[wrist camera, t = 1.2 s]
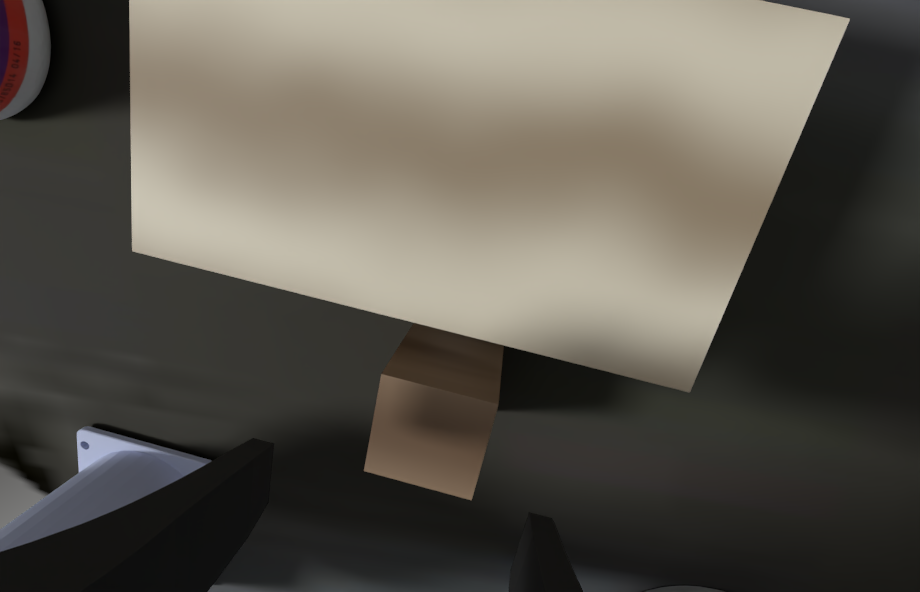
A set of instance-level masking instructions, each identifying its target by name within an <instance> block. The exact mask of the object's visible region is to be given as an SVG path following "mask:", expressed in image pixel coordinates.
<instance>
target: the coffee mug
mask: <svg viewBox="0 0 920 592" xmlns="http://www.w3.org/2000/svg"><path fill="white" fill-rule="evenodd" d="M644 592H725V591H721V590H717V589H711V588H706V587H701V586H668V587H661V588H656V589H652V590H648V591H644Z"/></svg>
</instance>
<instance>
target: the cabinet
mask: <svg viewBox="0 0 920 592" xmlns="http://www.w3.org/2000/svg"><path fill="white" fill-rule="evenodd" d="M849 21H850V19H849V18H844V17H839V16H835V15H830V14H825V13H820V12H815V11H810V10H805V9H800V8H795V7H790V6H786V5H781V4H776V3H771V2H766V1H761V0H129V23H130V110H131V197H132V251H133V252H137V253H141V254H145V255H149V256H153V257H157V258H161V259H165V260H169V261H173V262H177V263H181V264H185V265H189V266H193V267H196V268H200V269H204V270H208V271H212V272H216V273H220V274H224V275H228V276H232V277H236V278H240V279H244V280H248V281H252V282H256V283H260V284H264V285H267V286H271V287H275V288H279V289H283V290H287V291H291V292H295V293H299V294H303V295H307V296H311V297H315V298H319V299H323V300H327V301H331V302H335V303H338V304H342V305H346V306H350V307H354V308H358V309H362V310H366V311H370V312H374V313H378V314H382V315H386V316H390V317H394V318H398V319H402V320H406V321H409V322H413V323H417V324H421V325H425V326H429V327H433V328H437V329H441V330H445V331H449V332H453V333H457V334H461V335H465V336H469V337H473V338H477V339H480V340H484V341H488V342H492V343H496V344H500V345H504V346H508V347H512V348H516V349H520V350H524V351H528V352H532V353H536V354H540V355H544V356H548V357H551V358H555V359H559V360H563V361H567V362H571V363H575V364H579V365H583V366H587V367H591V368H595V369H599V370H603V371H607V372H611V373H615V374H619V375H622V376H626V377H630V378H634V379H638V380H642V381H646V382H650V383H654V384H658V385H662V386H666V387H670V388H674V389H678V390H682V391H686V392H690V391H691V388H692V386H693V384H694V381H695V379H696V377H697V374H698V372H699V370H700V367H701V365H702V363H703V360H704V358H705V356H706V353H707V351H708V349H709V346H710V344H711V342H712V340H713V337H714V335H715V333H716V330H717V328H718V326H719V323H720V321H721V319H722V316H723V314H724V312H725V309H726V307H727V305H728V302H729V300H730V298H731V295H732V293H733V291H734V288H735V286H736V284H737V281H738V279H739V277H740V274H741V272H742V270H743V267H744V265H745V263H746V260H747V258H748V256H749V253H750V251H751V249H752V246H753V244H754V242H755V239H756V237H757V235H758V232H759V230H760V228H761V225H762V223H763V221H764V218H765V216H766V214H767V211H768V209H769V207H770V204H771V202H772V200H773V197H774V195H775V193H776V190H777V188H778V186H779V184H780V181H781V179H782V177H783V174H784V172H785V170H786V167H787V165H788V163H789V160H790V158H791V156H792V153H793V151H794V149H795V146H796V144H797V142H798V139H799V137H800V135H801V132H802V130H803V128H804V125H805V123H806V121H807V118H808V116H809V114H810V111H811V109H812V107H813V104H814V102H815V100H816V97H817V95H818V93H819V90H820V88H821V86H822V83H823V81H824V79H825V76H826V74H827V72H828V69H829V67H830V65H831V62H832V60H833V58H834V55H835V53H836V51H837V48H838V46H839V44H840V41H841V39H842V37H843V34H844V32H845V30H846V28H847V25H848V23H849Z"/></svg>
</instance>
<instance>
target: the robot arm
mask: <svg viewBox="0 0 920 592" xmlns="http://www.w3.org/2000/svg"><path fill="white" fill-rule="evenodd" d="M273 447H274V444H273V443H270V442H266V441H262V440H258V439H255V438H252V439H251V440H249V441H247V442H245V443H243V444H241V445H240V446H238V447H236V448H234V449H233V450H231V451H229V452H227V453H225V454H224V455H222V456H220V457H218V458H217V459H215V460H213V461H212V460H209V459H205V458H201V457H198V456H194V455H191V454H187V453H183V452H180V451H176V450H173V449H169V448H165V447H162V446H158V445H155V444H151V443H147V442H144V441H140V440H137V439H133V438H129V437H126V436H122V435H119V434H115V433H111V432H108V431H104V430H101V429H97V428H93V427H90V426H86V427H83V428H82V429H80V430H79V431H78V432H77V448H78V465H79V473H78V474H77V475H75V476H74V477H73V478H71V479H70V480H68V481H67V482H66V483H64V484H63V485H61V486H60V487H59V488H57V489H56V490H54V491H53V492H52V493H50V494H49V495H47V496H46V497H45V498H43V499H42V500H40V501H39V502H38V503H37V504H35V505H34V506H32V507H31V508H29V509H28V510H27V511H25V512H24V513H22V514H21V515H20V516H18V517H17V518H15V519H14V520H13V521H11V522H10V523H8V524H7V525H6V526H4V527H3V528H2V529H0V592H207V591H208V590H209V589H210V587H211V586H212V585H213V584H214V582H215V581H216V580H217V578H218V577H219V576H220V574H221V573H222V572H223V570H224V569H225V568H226V566H227V565H228V564H229V562H230V561H231V560H232V558H233V557H234V555H235V554H236V553H237V551H238V550H239V549H240V547H241V546H242V545H243V543H244V542H245V541H246V539H247V538H248V536H249V534H250V533H251V531H252V529H253V528H254V526H255V524H256V523H257V521H258V519H259V518H260V516H261V514H262V512H263V511H264V509H265V507H266V505H267V504H268V500H269V490H270V479H271V468H272V458H273ZM509 592H583V590H582V588H581V586H580V584H579V582H578V579H577V577H576V575H575V573H574V570H573V568H572V566H571V563H570V561H569V559H568V556H567V554H566V551H565V549H564V546H563V544H562V541H561V539H560V536H559V534H558V531H557V528H556V525H555V523H554V521H553V519H552V518H549V517H545V516H541V515H538V514H534V513H530V512H529V515H528V518H527V521H526V524H525V527H524V530H523V533H522V536H521V539H520V542H519V545H518V549H517V552H516V555H515V558H514V561H513V564H512V567H511V572H510V583H509Z"/></svg>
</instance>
